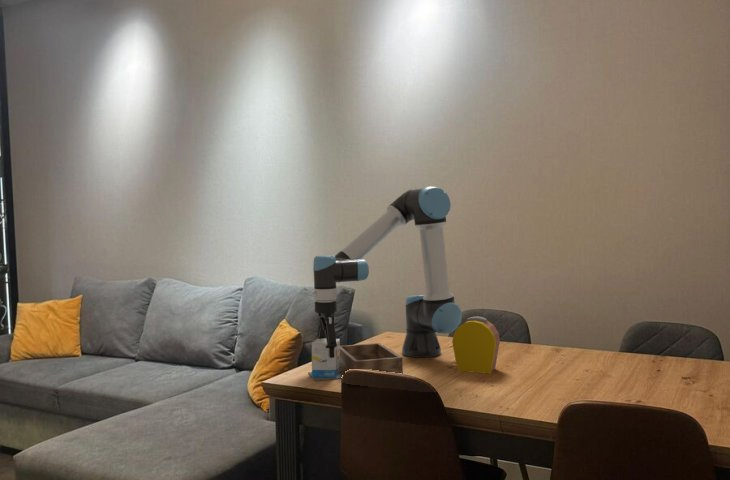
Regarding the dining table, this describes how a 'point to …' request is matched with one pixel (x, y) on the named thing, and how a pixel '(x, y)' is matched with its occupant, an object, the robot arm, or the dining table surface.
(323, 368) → the ink box
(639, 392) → the dining table surface
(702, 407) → the dining table surface
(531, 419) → the dining table surface
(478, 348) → the yellow arched block
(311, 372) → the slate pad
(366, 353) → the walnut frame
